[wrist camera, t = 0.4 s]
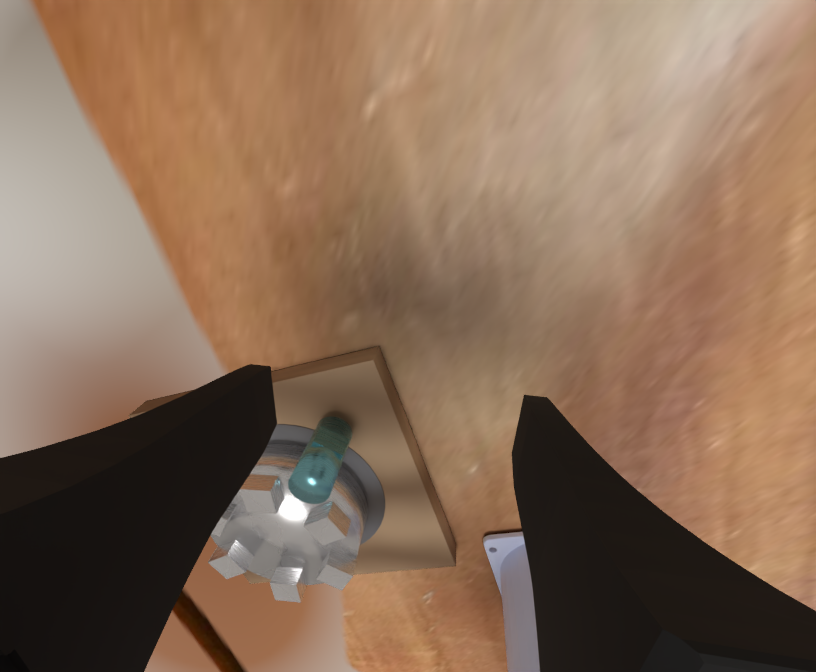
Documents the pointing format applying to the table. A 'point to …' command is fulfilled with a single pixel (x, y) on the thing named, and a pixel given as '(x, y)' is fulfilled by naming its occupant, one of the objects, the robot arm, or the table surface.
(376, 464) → the dial board
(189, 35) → the table surface
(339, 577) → the rotary knob
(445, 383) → the table surface
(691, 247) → the table surface
